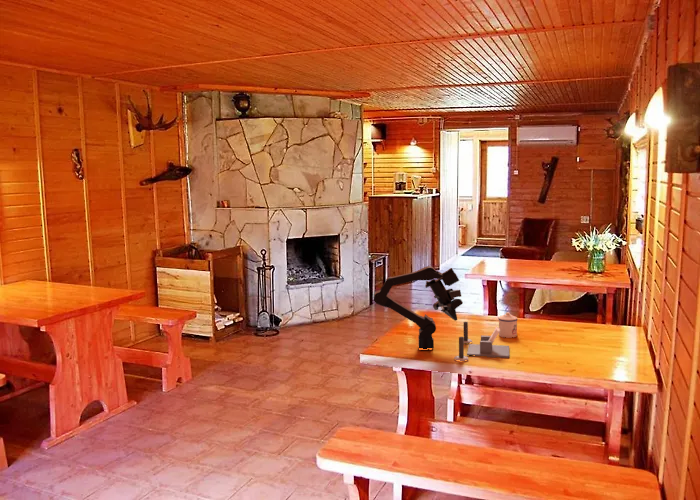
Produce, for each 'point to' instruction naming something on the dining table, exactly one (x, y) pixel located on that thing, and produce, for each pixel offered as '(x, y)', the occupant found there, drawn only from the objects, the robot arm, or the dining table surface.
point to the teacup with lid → (508, 325)
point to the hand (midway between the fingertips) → (456, 320)
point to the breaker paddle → (494, 334)
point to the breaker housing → (488, 349)
